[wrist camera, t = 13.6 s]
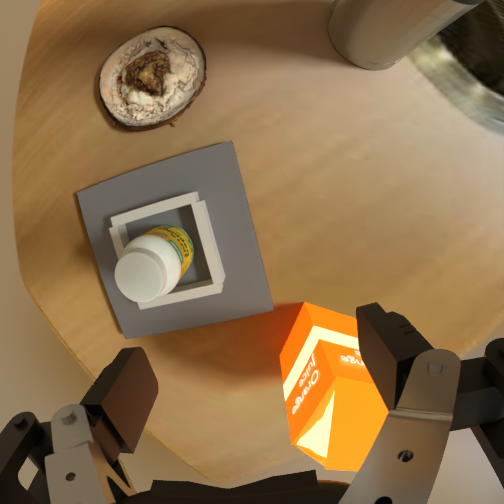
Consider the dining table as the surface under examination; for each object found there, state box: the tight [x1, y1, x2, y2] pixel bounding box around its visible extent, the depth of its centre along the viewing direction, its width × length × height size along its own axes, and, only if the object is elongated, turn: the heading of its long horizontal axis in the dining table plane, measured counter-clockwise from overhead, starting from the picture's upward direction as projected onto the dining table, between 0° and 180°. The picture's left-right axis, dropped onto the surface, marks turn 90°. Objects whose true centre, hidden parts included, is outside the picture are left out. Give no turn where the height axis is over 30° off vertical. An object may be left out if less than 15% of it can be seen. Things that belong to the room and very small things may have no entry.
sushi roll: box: [99, 26, 207, 130], centre depth 26 cm, size 15×15×4 cm
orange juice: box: [280, 302, 388, 471], centre depth 25 cm, size 8×9×20 cm
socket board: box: [77, 141, 274, 339], centre depth 31 cm, size 18×18×4 cm
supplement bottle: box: [115, 225, 194, 303], centre depth 26 cm, size 5×5×10 cm
